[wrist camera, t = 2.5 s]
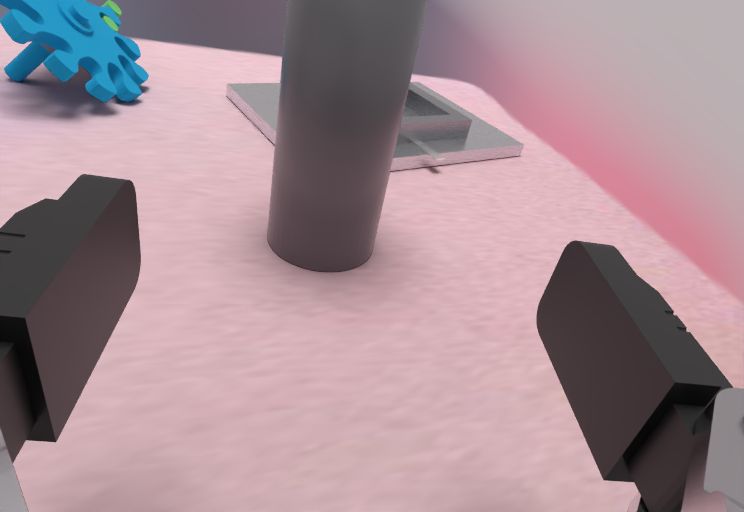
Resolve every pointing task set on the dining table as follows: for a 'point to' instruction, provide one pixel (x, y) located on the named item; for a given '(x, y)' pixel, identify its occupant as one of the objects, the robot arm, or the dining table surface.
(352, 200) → the grey peg
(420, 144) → the grey peg base plate
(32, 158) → the dining table surface
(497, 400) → the dining table surface
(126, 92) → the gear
